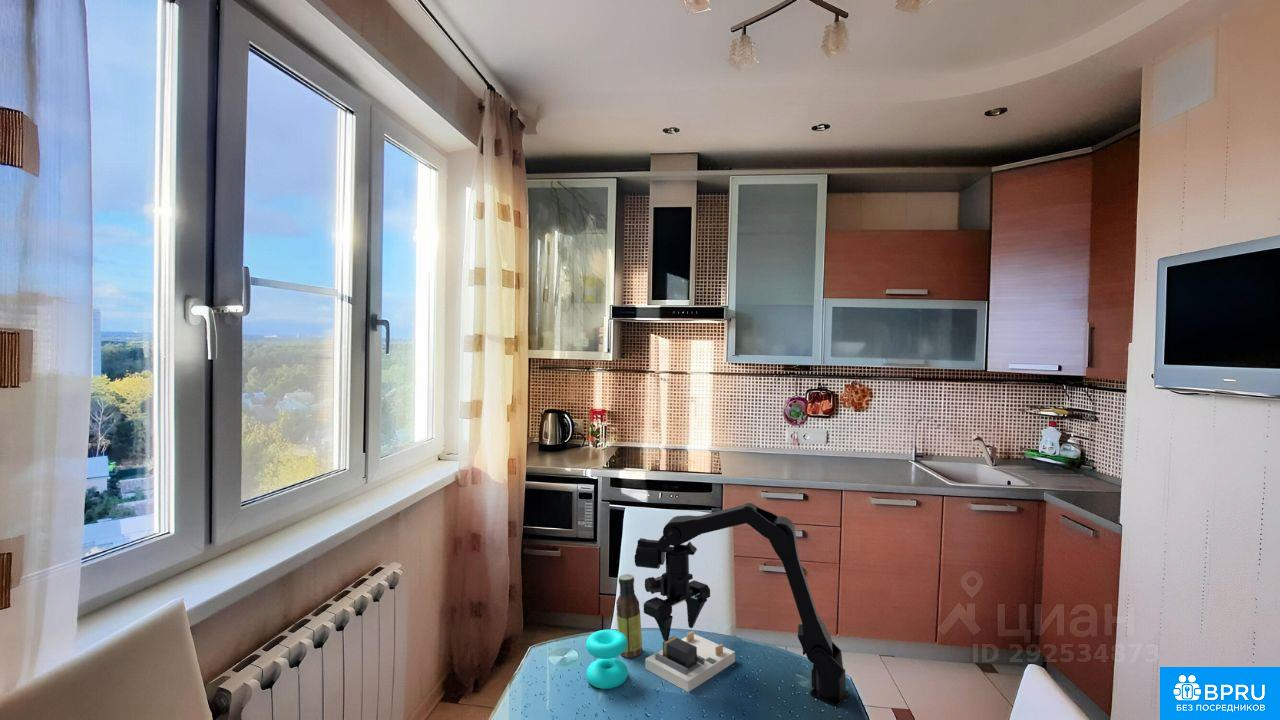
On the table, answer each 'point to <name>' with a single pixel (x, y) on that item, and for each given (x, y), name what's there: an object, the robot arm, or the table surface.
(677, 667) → the cradle
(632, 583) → the sauce bottle
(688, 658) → the battery
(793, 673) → the table surface
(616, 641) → the donuts
